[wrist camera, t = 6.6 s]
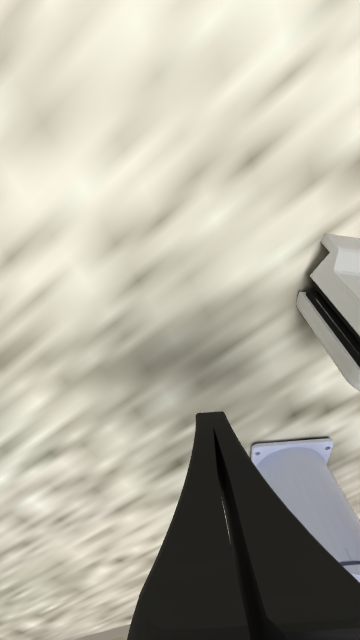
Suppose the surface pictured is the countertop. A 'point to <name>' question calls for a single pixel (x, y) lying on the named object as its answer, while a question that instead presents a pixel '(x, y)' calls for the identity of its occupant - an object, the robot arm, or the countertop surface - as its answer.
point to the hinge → (337, 304)
